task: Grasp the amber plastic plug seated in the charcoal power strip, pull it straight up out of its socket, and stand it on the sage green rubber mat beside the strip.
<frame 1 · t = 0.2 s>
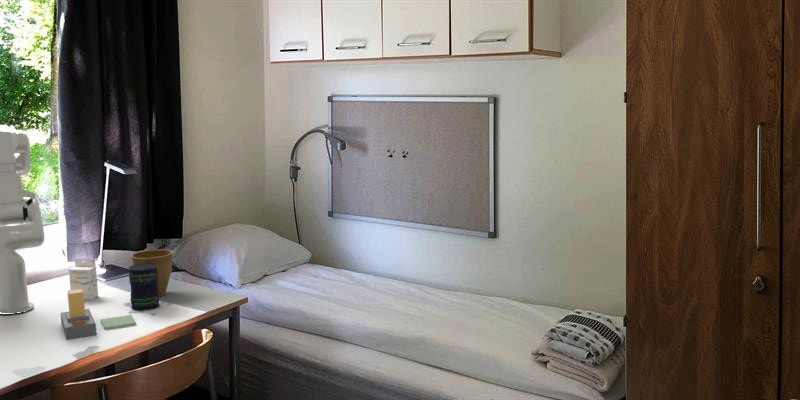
hand: (8, 221, 254), 36 cm above the table, tool pointing down, fingers open, 9 cm apart
mat: (118, 323, 264), on the table
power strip: (78, 329, 258), on the table
ink cartridge box: (84, 298, 295), on the table
plug: (78, 329, 258), resting in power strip
storage jar: (145, 307, 283), on the table
plant pot: (154, 294, 298), on the table
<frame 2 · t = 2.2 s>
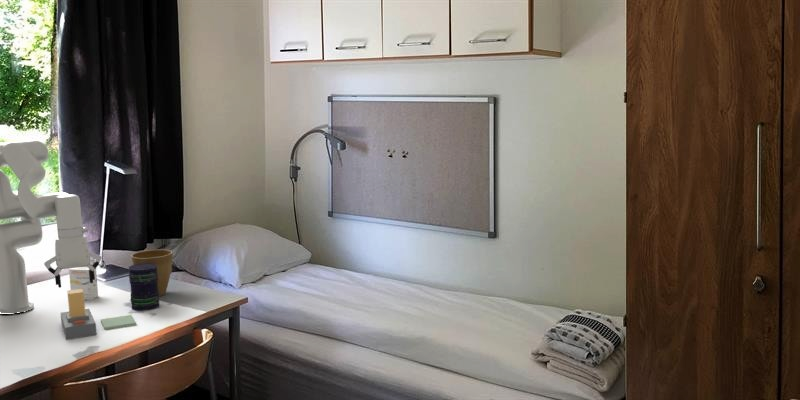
hand: (75, 284, 256), 15 cm above the table, tool pointing down, fingers open, 9 cm apart
nothing on the table moved.
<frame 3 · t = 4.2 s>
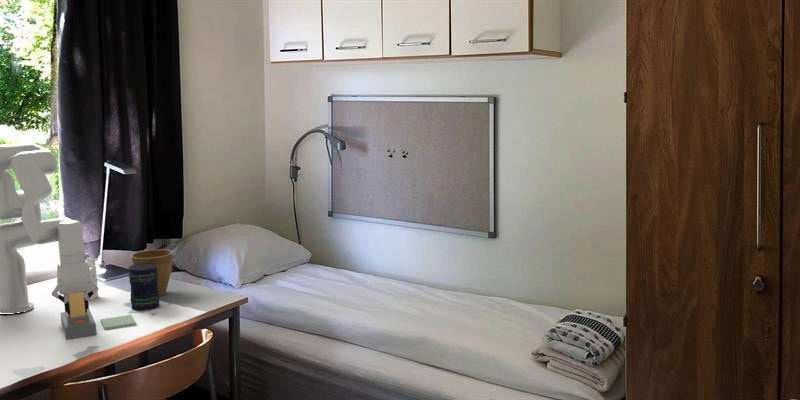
hand: (77, 312, 258), 6 cm above the table, tool pointing down, fingers closed on plug, 4 cm apart
plug: (78, 329, 258), resting in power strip, touching gripper
everything else where it was.
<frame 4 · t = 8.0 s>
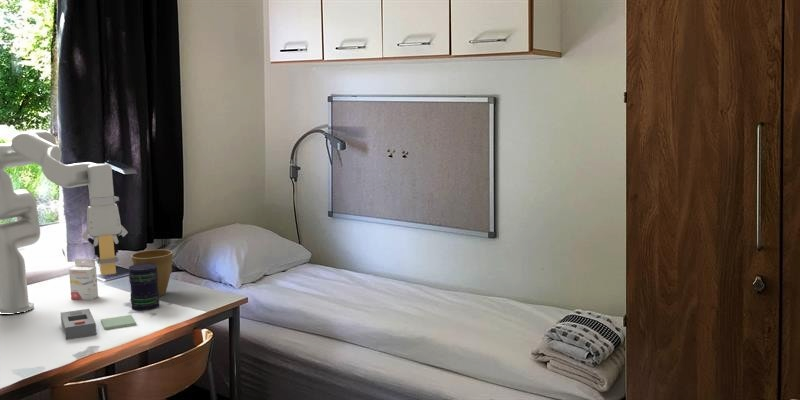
hand: (106, 255, 259), 24 cm above the table, tool pointing down, fingers closed on plug, 4 cm apart
plug: (108, 272, 260), point 18 cm above the table, touching gripper
everything else where it was.
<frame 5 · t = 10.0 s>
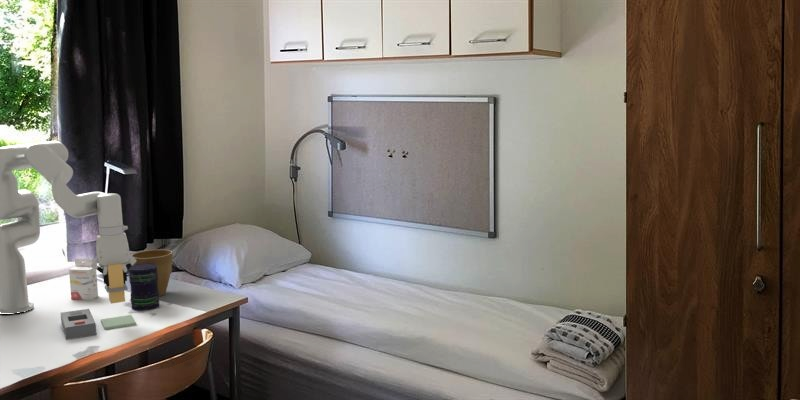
hand: (115, 283, 262), 14 cm above the table, tool pointing down, fingers closed on plug, 4 cm apart
plug: (117, 300, 263), point 8 cm above the table, touching gripper
everything else where it was.
when the fingers open (8 cm above the table, at t = 11.9 s): plug drops 1 cm, resting on mat.
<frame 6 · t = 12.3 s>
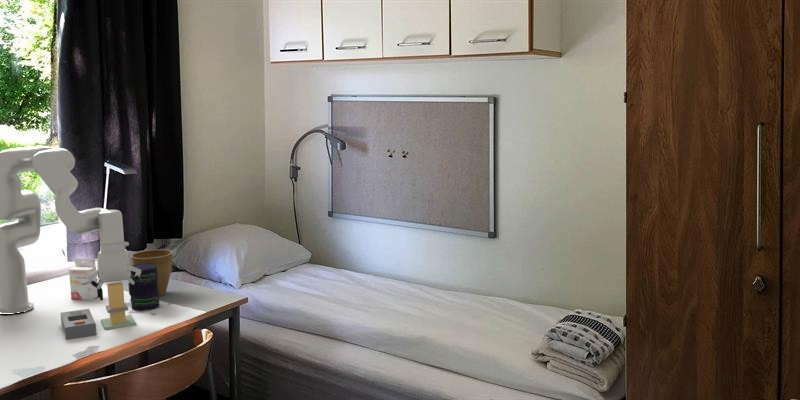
hand: (116, 297, 263), 9 cm above the table, tool pointing down, fingers open, 9 cm apart
plug: (117, 321, 264), point 1 cm above the table, touching mat
everything else where it was.
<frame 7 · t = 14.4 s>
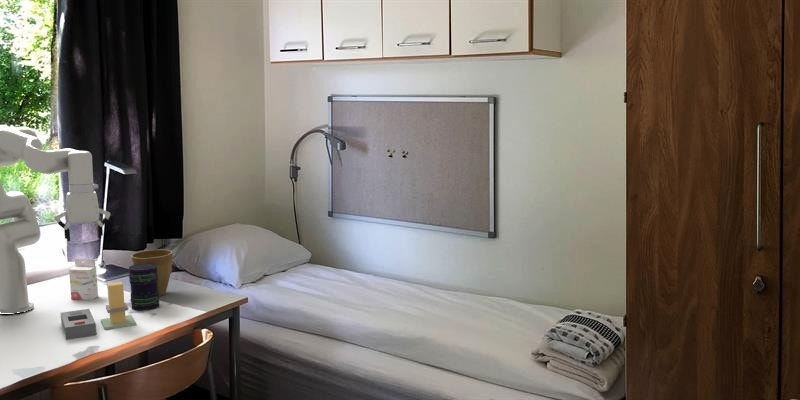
hand: (84, 239, 262), 29 cm above the table, tool pointing down, fingers open, 9 cm apart
nothing on the table moved.
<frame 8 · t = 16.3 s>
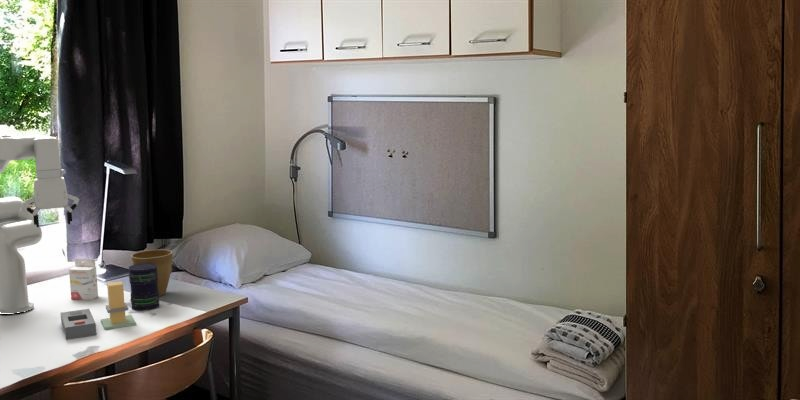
hand: (53, 225, 263), 33 cm above the table, tool pointing down, fingers open, 9 cm apart
nothing on the table moved.
at the end: plug inside the target area on the mat (0.1 cm from its centre), point 0.8 cm above the mat's base; plug tilted 0°; the gripper is holding nothing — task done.
